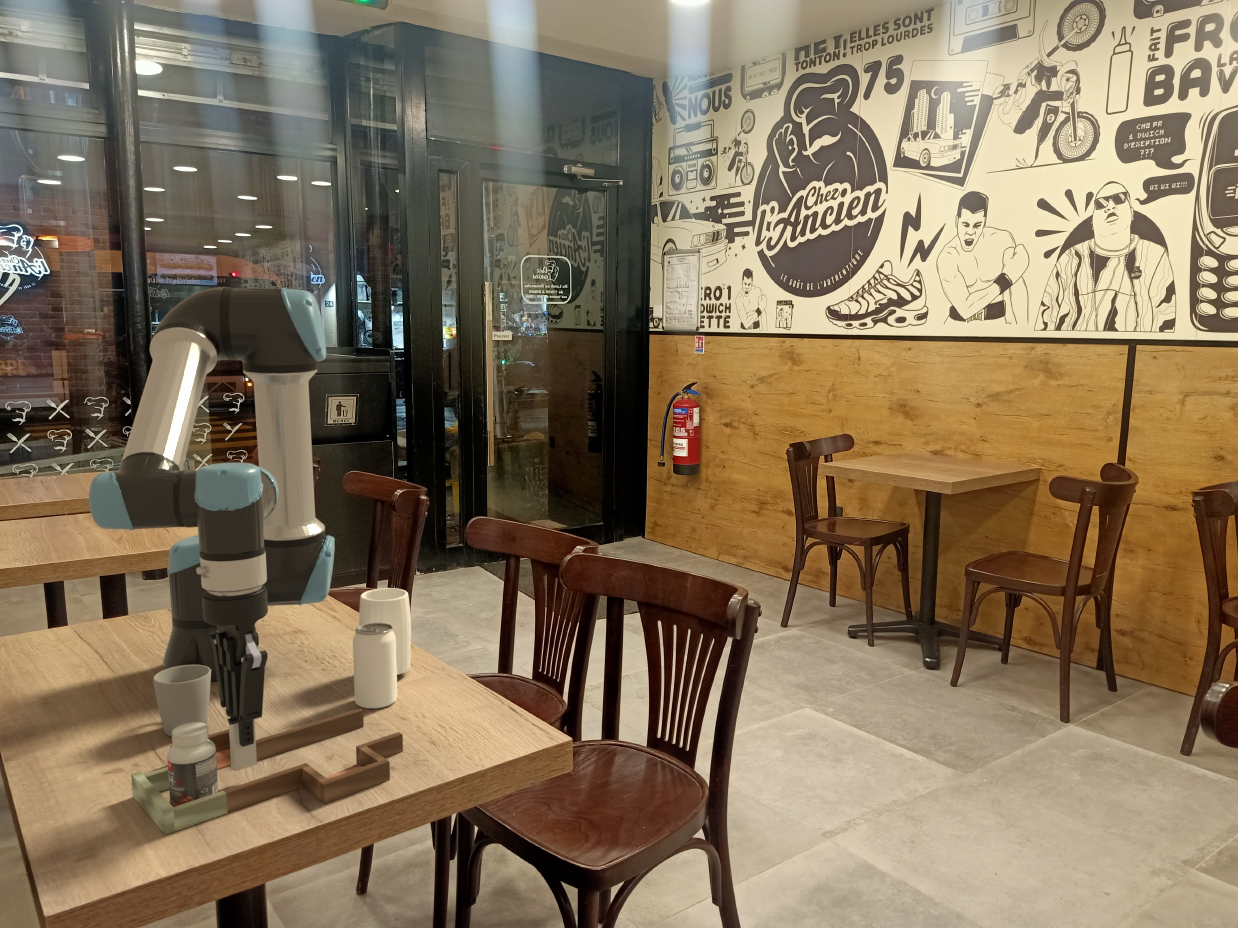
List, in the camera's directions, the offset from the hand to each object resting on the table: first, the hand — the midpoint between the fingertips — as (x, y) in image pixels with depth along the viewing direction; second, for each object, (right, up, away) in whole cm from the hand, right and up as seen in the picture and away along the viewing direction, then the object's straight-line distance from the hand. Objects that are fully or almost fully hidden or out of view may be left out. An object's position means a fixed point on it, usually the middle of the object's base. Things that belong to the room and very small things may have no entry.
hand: (244, 765), depth 116 cm
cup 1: (-16, 0, +17) cm, 23 cm away
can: (+10, +1, +26) cm, 28 cm away
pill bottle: (-4, -3, -5) cm, 7 cm away
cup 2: (+9, +3, +38) cm, 39 cm away
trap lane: (+3, -2, +3) cm, 5 cm away
